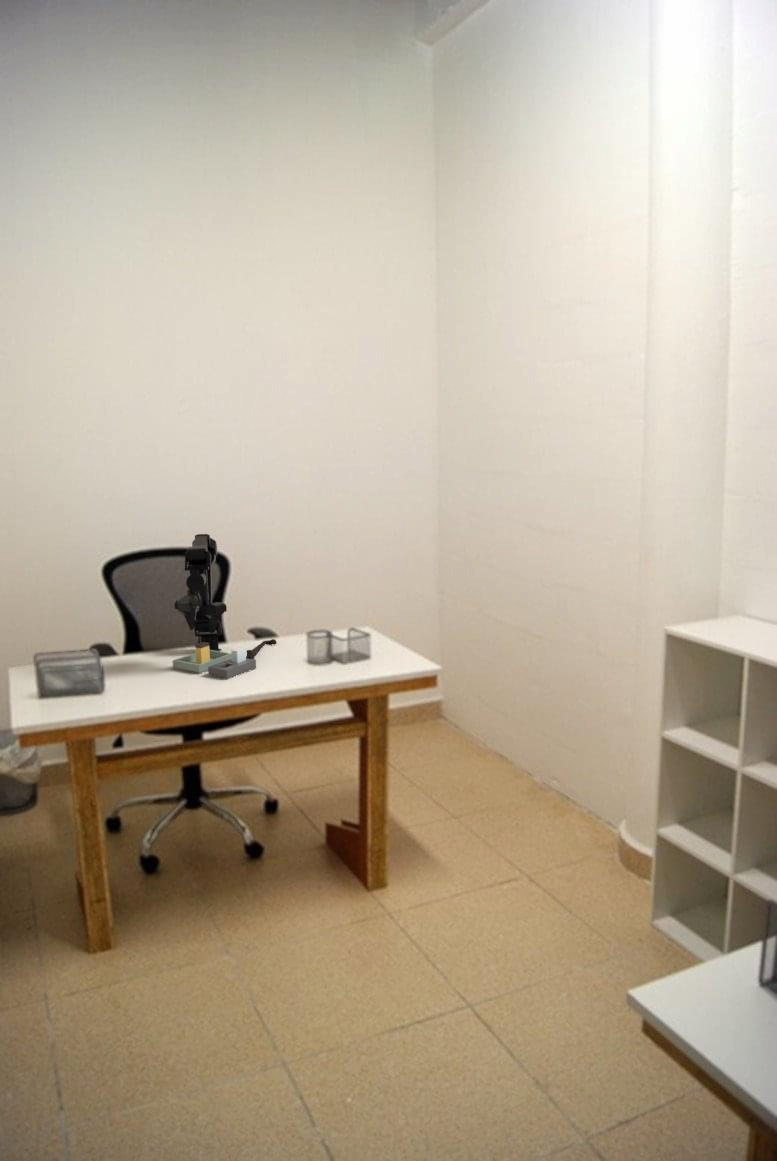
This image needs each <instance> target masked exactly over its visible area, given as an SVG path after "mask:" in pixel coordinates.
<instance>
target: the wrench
mask: <svg viewBox="0 0 777 1161" xmlns="http://www.w3.org/2000/svg"><path fill="white" fill-rule="evenodd" d="M265 644H276V645H277V640H276V639H274V638H273V639H270V640H269V639H268V640H263V641H262V642H261V643H260V644H258V645H257V646H255V647H254V648H252V649H247V650H246V658H248V659H254V660H255V657H256V656H257V655H258V653H259V652H260V651H261V650H262V649H263V648H264V647H265V646H266V645H265ZM264 645H265V646H264ZM263 646H264V647H263ZM262 647H263V648H262ZM261 648H262V649H261ZM260 649H261V650H260Z"/></svg>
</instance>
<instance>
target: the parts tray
mask: <svg viewBox="0 0 777 1161" xmlns="http://www.w3.org/2000/svg"><path fill="white" fill-rule="evenodd" d="M229 659H232V653H231V652H225V651H214V650H210V661H207V662H204V663H201V664H196V652H194V653H190V654H188V655H185V656H182V657H179V658H176V659H173V660H172V668H173V670H177V671H181V670H182V671H181V672H186V671H187V673H191V672H193V673H192V674H196V673H201V674H203V673H202V672H204V673H206V672H205V671H207V672H208V667H209V666H212V665H215V664H218V663H221V662H224V661H226V660H229Z"/></svg>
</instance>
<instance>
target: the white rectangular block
mask: <svg viewBox="0 0 777 1161" xmlns="http://www.w3.org/2000/svg"><path fill="white" fill-rule="evenodd" d="M230 651H231V652H230V653H232V662H234V663H240V662H243V661H245V660H246V656H247V651H246V648H245V647H237V648H234V649H231V650H230Z"/></svg>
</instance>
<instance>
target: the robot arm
mask: <svg viewBox="0 0 777 1161" xmlns="http://www.w3.org/2000/svg"><path fill="white" fill-rule="evenodd" d="M217 545H218V544H217V540H215V539H213V538H212V537H211V535H210V534H208V533H199V534H195V535H194V540H193V541H191V546H189V547H188V548H187V549H186V551H185V553H184V571H189V575H188V577H187V578H186V581H185V582H186V583H185V584H186V587H187V588H188V589H187V593H186V595H184V596H183V597H181V598H179V599H178V600H176V601H174V610H177V611H178V612H180V613H181V614H182V615H183V617H184V618H185V620H186V622H187V623H186V624H188V627H189V630H190V631H192V630H194V637H198V644H199V643H202V642H207V643H209V649H210V650H214V651H220V650H221V651H222V648H220V647H219V638H218V636H220V635H222V632H223V631H222V624H221V622H220V618H221V616H222V615H223V614H224V613H225V612H227V611H228V609H227V604H226V603H224V602H220V601H219V602H218V601H216V602H213V583H212V582H213V581H212V579H213V578H212V577H213V575H212V574H213V573H212V571H213V570H212V568H213V566H214V565H215V563H216V561H217V556H218V546H217ZM197 609H198V610H197ZM196 610H197V611H196ZM221 651H220V652H221Z"/></svg>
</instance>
